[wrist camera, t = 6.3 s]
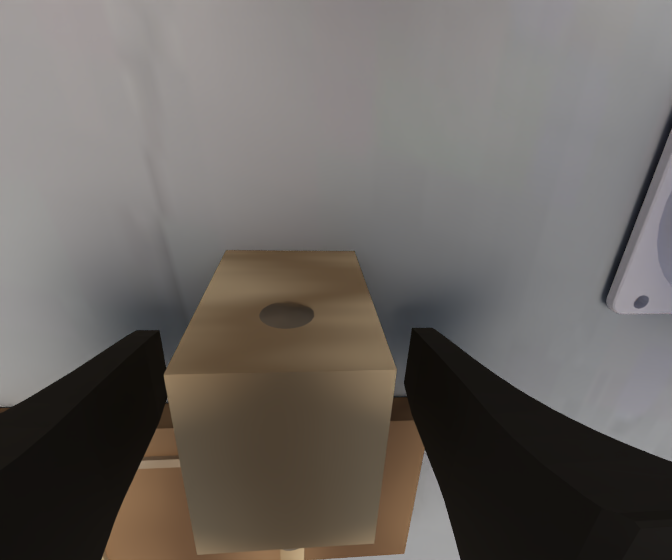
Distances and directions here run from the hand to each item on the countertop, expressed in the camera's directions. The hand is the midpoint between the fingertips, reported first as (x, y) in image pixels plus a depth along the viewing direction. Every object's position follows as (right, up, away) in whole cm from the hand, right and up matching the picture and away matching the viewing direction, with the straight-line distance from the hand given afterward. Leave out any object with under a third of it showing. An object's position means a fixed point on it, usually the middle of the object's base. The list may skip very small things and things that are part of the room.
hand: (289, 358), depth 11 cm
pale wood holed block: (0, 0, +2) cm, 3 cm away
